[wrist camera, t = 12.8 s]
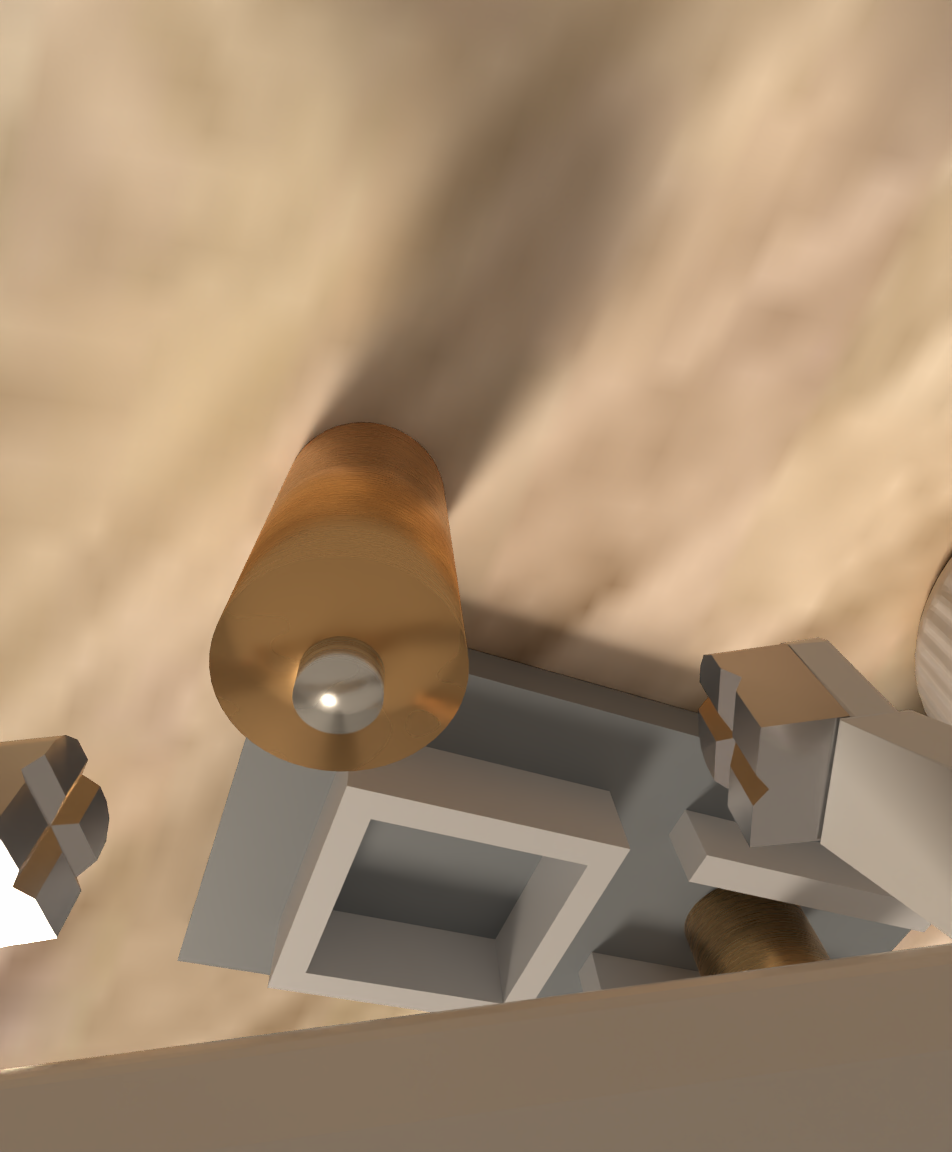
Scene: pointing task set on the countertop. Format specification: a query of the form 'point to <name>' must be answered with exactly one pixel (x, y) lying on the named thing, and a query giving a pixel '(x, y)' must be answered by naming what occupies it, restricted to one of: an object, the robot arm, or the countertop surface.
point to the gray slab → (504, 858)
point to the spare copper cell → (749, 933)
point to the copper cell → (347, 609)
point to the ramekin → (936, 650)
